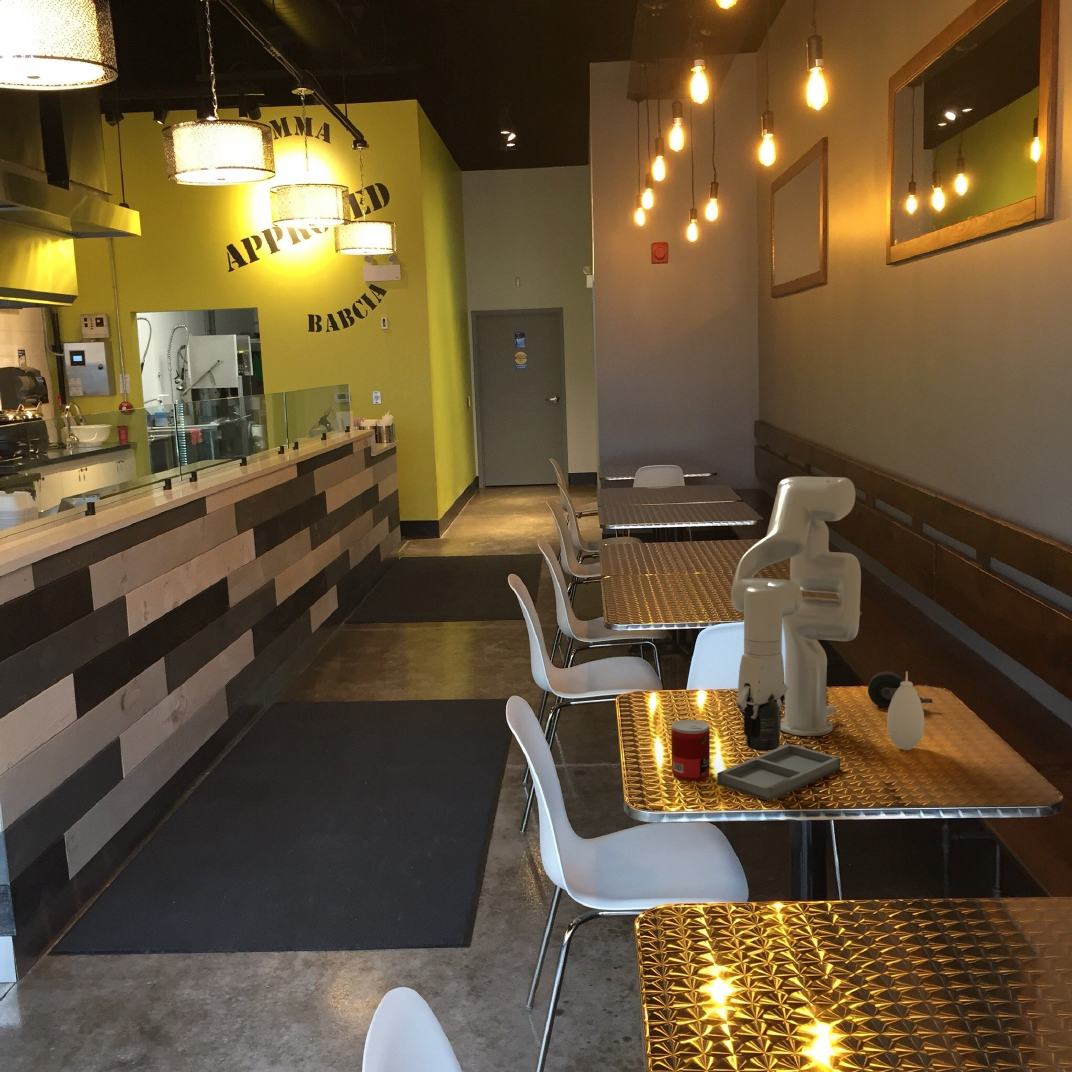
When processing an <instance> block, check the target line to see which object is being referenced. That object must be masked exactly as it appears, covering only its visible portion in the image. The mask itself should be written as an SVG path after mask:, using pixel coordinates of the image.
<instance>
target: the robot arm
mask: <svg viewBox="0 0 1072 1072" xmlns="http://www.w3.org/2000/svg"><path fill="white" fill-rule="evenodd" d="M855 502H856V489H855V484H854V483H853V481H852V480H851V479H850V478H849V477H848V478H847V477H841V476H840V477H838V476H836V477H835V476H790V477H786V478H784V479H783V478H782V479H781V480H780V482H779V483H778V485H777V493H776V495H775V500H774V504H773V508H772V511H771V516H770V520H769V524H768V527H767V532H766V535H765V537H763V538H762V539H760V540H759V541H757V542H756V543H755V544H754V545H753V546H751V547H750V548H749V549H748V550H746V552H745V553H744V554H743V555H742V557H741V558H740V560H739V561H738V563H737V567H736V570H735V574H734V576H733V577H734V578H733V581H732V586H731V592H730V599H731V600H730V601H731V604H732V606H733V608H734V609H735V610H736V611H737V612H740V613H743V653H742V655H741V658H740V663H739V664H740V665H739V670H738V671H739V672H738V682H737V683H738V684H737V700H736V701H735V705H736V706H737V708H738V709H739V711H740V713H741V716H742V717H743V735H744V736H745V737H746V736H750V737H754V738H757V737H758V734H759V720H758V718H756V717H757V713H758V709H759V706H760V705H762V704H764V703H767V702H769V701H767V700H768V699H769V696H770V695H772V692H773V694H774V697H775V699H774V701H775V702H777V703H778V705H779V707H780V731H782V732H784V733H787V734H790V735H794V736H800V737H802V736H803V737H818V736H823V735H824V736H825V735H827V734H830V733H831V732H833V729H834V725H833V723H832V722H831V721H830V720H828V717H829V715H831V714H834V713H836V712H835V711H836V707H835V706H834V705H832V704H831V705H827V684H828V683H827V682H828V681H827V677H828V676H827V674H828V673H827V672H828V671H827V670H828V669H827V666H828V658H827V654H826V651H825V649H824V648H823V646H822V645H821V644H820V642H819V641H818V640H822V641H834V642H835V641H836V642H850V641H853V640H854V639H855V638H856V637H857V635H858V633H859V627H860V616H861V615H860V614H861V612H860V611H861V610H860V609H861V608H860V607H861V585H862V570H861V564H860V562H859V559H858V558H857V557H856V555H854V554H853V553H849V552H841V551H840V552H837V551H836V552H834V551H830V549H829V544H830V543H829V538H830V536H829V535H830V531H829V527H828V525H827V523H825V522H837V521H840V520H842V519H843V518H845V517H846V516H848V514H850V513H851V511H852V510H853V507H854V505H855ZM787 559H790V563H789V565H790V566H789V579H790V580H789V579H782V578H780V579H779V578H770V577H754V576H756V574H757V573H758V572H759V571H760V570H762V569H764V568H766V567H768V566H770V565H773V564H775V563H778V562H782V561H784V560H787ZM803 591H804V592H811V593H812V592H813V593H823V594H824V593H826V594H827V593H828V594H835V595H837V597H838V598H837V599H835V598H822V597H811V596H810V597H809V596H803ZM783 636H784V649H785V650H784V652H785V657H784V658H783ZM784 659H785V660H784ZM784 661H785V665H784ZM751 700H753V702H751ZM783 702H784V717H782V718H781V715H782V714H781V713H782V710H783ZM750 705H751V706H753V710H751V709H750V708H749V707H750Z"/></svg>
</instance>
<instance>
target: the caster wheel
mask: <svg viewBox="0 0 1072 1072" xmlns="http://www.w3.org/2000/svg"><path fill="white" fill-rule="evenodd" d="M903 681H904V679H903V678H902V677H901V675H899V674H897V673H895V672H892V671H887V670H886V671H880V672H878V673H876V674H874V676H873V675H872V677H871V679H870V681H869V682H868V686H867V695H868V697H869V699H870V701H871V702H872V703H873V704H874V705H875V706H877V707H879V708H881V709H886V708H889V706H890V703H891V700H892V698H893V696H894V694H895V692H896V691H897V689H898V688H899V687H900V686H901V685H900V683H901V682H903ZM912 687H913V688H914V685H913V686H912ZM917 694H918V696H919V698H920V701H921V704H922V705H923V704H929V703H930V704H932V703H933V698H931V697H930V698H929V697H927V698H926V697H925V698H922V697H921V696H920V694H919V693H918V692H917Z"/></svg>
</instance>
